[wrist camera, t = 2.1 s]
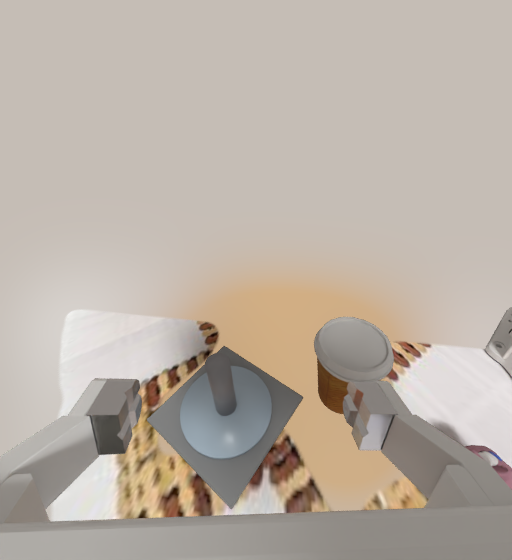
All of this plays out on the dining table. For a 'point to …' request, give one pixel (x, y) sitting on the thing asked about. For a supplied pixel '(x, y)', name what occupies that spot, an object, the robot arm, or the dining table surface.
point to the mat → (236, 471)
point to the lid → (225, 410)
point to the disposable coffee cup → (349, 357)
